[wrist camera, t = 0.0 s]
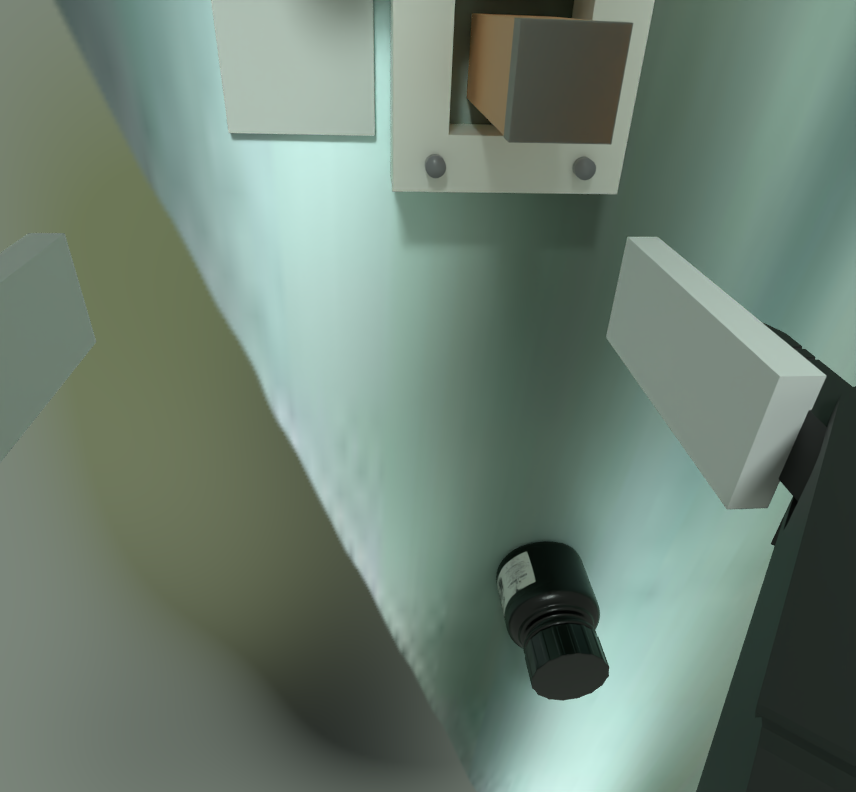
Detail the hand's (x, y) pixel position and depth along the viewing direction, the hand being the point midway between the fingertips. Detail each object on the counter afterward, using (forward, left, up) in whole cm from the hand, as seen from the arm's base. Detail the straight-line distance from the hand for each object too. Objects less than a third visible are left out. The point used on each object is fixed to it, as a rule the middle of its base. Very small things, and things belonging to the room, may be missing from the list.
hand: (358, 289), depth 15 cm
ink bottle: (+42, +17, -28) cm, 54 cm away
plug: (-3, +9, -28) cm, 29 cm away
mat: (-3, -4, -28) cm, 28 cm away
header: (-3, +9, -28) cm, 29 cm away
